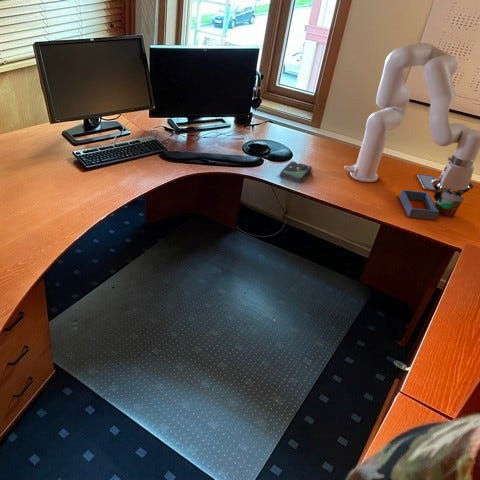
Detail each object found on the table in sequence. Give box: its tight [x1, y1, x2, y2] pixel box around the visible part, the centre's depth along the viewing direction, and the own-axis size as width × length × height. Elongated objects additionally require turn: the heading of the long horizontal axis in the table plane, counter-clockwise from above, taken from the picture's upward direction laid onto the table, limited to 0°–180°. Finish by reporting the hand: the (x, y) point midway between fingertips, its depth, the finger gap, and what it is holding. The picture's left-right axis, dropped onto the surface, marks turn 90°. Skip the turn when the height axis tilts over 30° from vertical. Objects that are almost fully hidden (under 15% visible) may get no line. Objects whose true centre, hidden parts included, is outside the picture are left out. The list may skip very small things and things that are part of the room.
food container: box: [434, 188, 465, 218], centre depth 195 cm, size 12×6×10 cm, turn 5°
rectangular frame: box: [398, 189, 439, 221], centre depth 198 cm, size 11×17×4 cm, turn 169°
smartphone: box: [416, 173, 439, 191], centre depth 218 cm, size 7×1×15 cm
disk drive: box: [279, 160, 313, 183], centre depth 221 cm, size 10×3×15 cm
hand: (445, 200), depth 195 cm, fingers closed on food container, 6 cm apart
